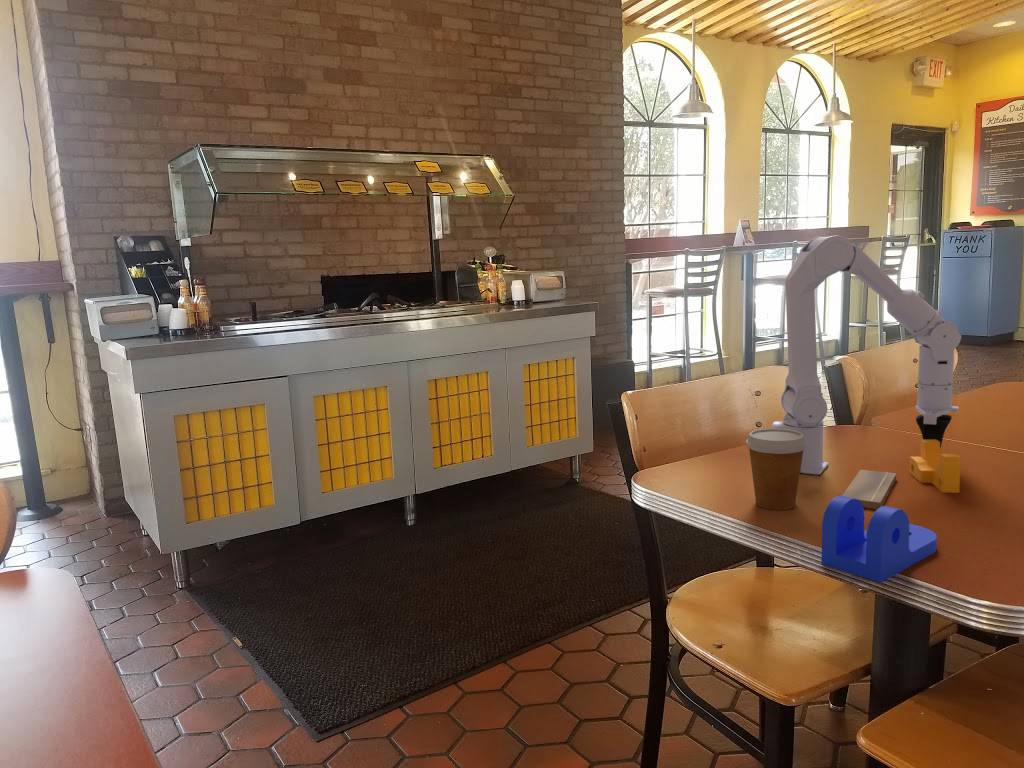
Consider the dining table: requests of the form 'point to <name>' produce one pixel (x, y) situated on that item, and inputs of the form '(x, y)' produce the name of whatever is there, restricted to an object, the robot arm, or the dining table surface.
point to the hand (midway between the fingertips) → (932, 453)
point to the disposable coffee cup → (776, 466)
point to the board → (871, 488)
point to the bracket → (872, 540)
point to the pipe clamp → (936, 467)
